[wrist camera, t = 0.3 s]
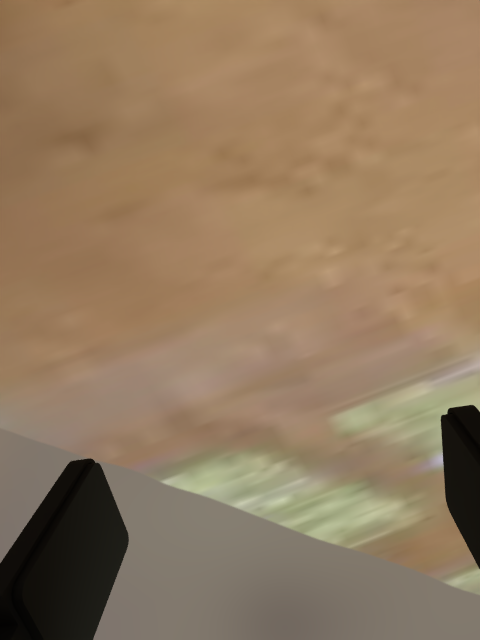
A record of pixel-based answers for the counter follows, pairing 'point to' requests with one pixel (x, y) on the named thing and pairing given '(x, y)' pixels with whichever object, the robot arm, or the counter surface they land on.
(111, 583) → the robot arm
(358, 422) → the counter surface
